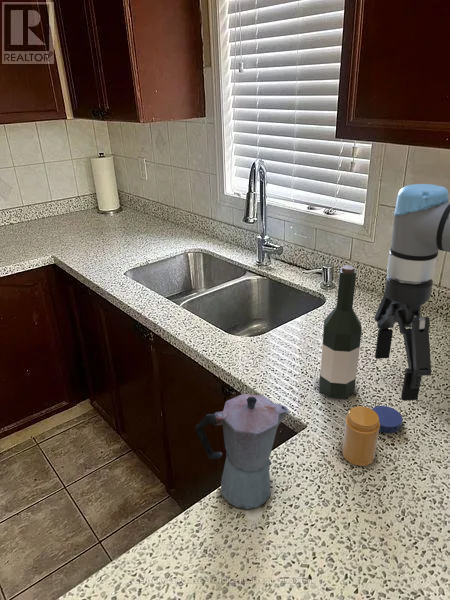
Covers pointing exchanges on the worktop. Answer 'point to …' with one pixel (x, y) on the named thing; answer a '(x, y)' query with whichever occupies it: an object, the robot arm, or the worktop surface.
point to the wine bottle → (341, 341)
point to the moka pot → (245, 447)
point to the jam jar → (360, 436)
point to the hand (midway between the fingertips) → (394, 376)
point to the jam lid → (388, 419)
